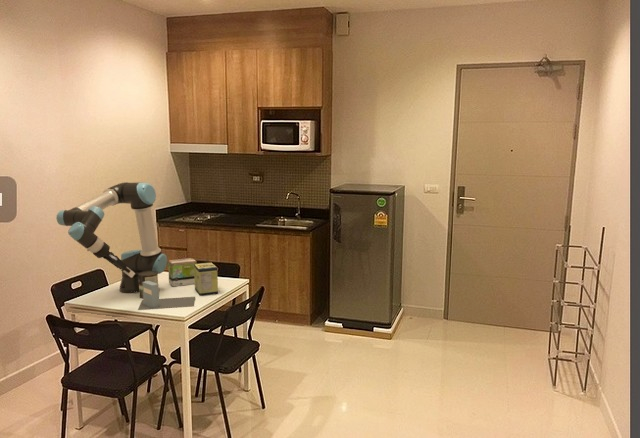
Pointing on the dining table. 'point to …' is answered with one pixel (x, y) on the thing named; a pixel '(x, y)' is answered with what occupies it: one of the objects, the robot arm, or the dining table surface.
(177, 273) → the tea box
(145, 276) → the coffee can
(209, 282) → the protein box
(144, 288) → the blue-grey box
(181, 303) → the mat
